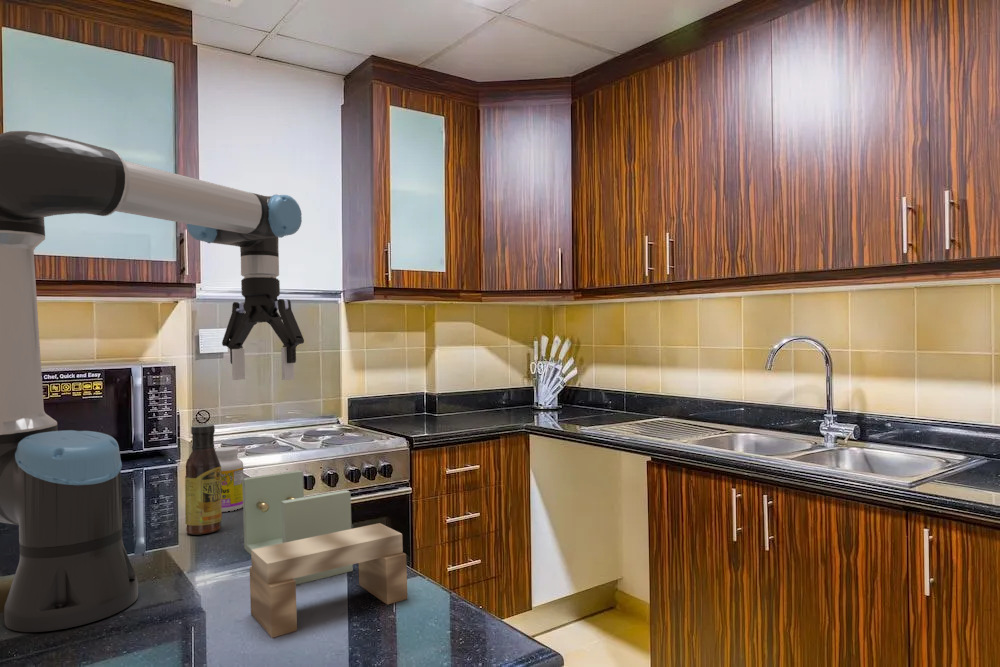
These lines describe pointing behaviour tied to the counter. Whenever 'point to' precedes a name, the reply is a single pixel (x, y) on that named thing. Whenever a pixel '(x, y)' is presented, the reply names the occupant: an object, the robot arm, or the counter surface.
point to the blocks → (279, 599)
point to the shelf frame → (291, 514)
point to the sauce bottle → (203, 484)
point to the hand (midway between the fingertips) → (263, 379)
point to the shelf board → (324, 552)
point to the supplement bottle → (230, 478)
